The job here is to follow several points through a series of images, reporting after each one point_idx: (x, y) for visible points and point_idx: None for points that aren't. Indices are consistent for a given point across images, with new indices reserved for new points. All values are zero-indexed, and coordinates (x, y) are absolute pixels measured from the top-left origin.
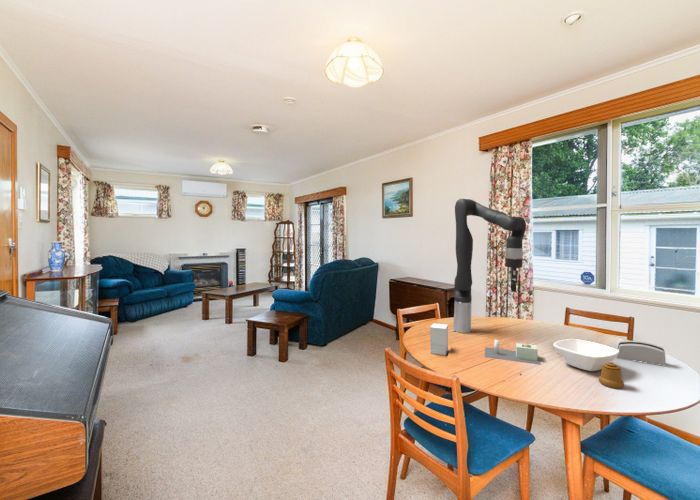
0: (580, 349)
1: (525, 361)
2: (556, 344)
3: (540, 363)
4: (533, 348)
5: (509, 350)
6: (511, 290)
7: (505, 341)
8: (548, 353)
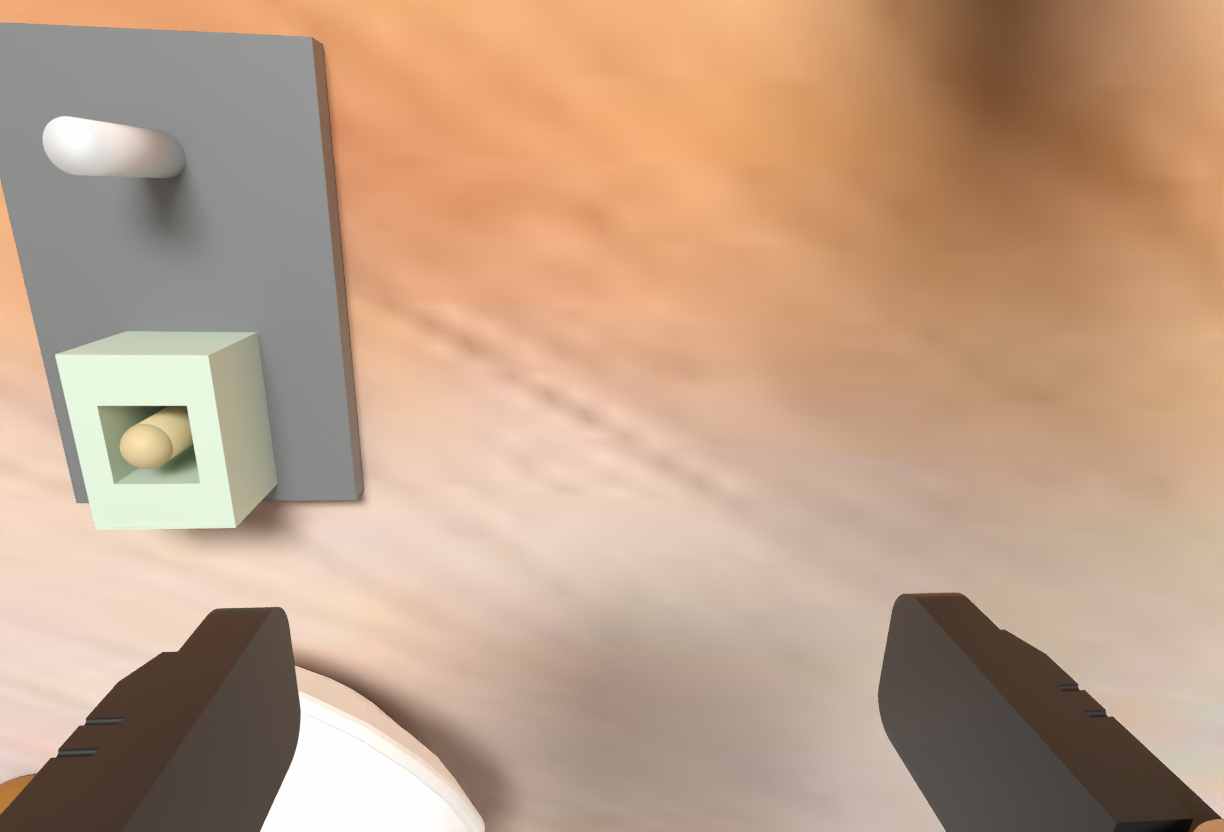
0: (433, 795)
1: None
2: None
3: None
4: (106, 499)
5: (324, 281)
6: (202, 632)
7: (704, 259)
8: (496, 569)
